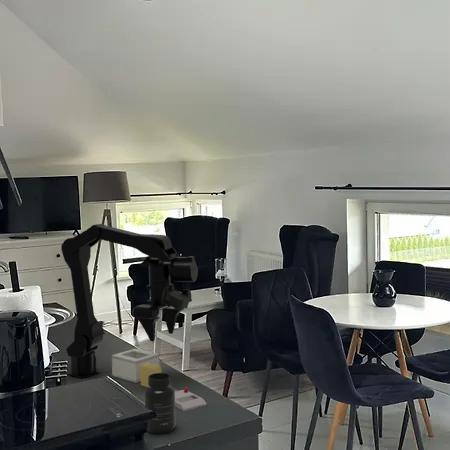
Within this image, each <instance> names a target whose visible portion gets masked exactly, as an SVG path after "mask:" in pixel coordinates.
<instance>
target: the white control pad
mask: <svg viewBox="0 0 450 450" xmlns="http://www.w3.org/2000/svg"><path fill="white" fill-rule="evenodd" d="M173 389H174V391H175V408H176V409H179V410H181V411H183V412H188V411H192V410H195V408H196V409H199V408H198V407H200V408H202V406H204V407H207V406H208V404H207V402H206V401H205V399H204V398H203V397H200V396H199V395H196V394H195V393H192V392H191V391H189V390H188V386H187V387H186V386H185V387H184V389H179V390H178V389H176V388H173ZM206 405H207V406H206Z"/></svg>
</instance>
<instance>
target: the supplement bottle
mask: <svg viewBox="0 0 450 450" xmlns="http://www.w3.org/2000/svg"><path fill="white" fill-rule="evenodd" d="M148 385H149V387H146V388H145V391H144V392H143V400H144V402H143V403H144V404H143V405H144V406H145V408H147V409H149V410H152V411H153V412H155V413H156V415H157V416H156V418H154V419H153V420H152V421H151V422H150V423H149V425H148V429H147V430H146V432H148V433H151V434H154V435H155V434H156V435H162V434H163V435H164V434H167V433H170V432H172V431H173V430H174V429H175V428H176V407H175V390H174V389H175V388H173V386H171V376H170V374H168V373H166V372H162V373H155V374H151V375H150V376H149V377H148ZM145 408H144V409H145Z"/></svg>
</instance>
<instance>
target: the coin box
mask: <svg viewBox="0 0 450 450" xmlns="http://www.w3.org/2000/svg"><path fill="white" fill-rule="evenodd" d="M147 363H150V364H154V365H158V366H161V365H160V354H159V353H155V352H151V351H147V350H144V349H140V348H139V349H138V348H133V349H130V350H126V351H122V352H118V353H115V354H112V355H111V368H112V369H111V371H112V372H111V374H112V377H114V378H118V379H122V380H124V381H125V380H126V381H128V382H132V383H134V384H135V383H136V384H137V383H141V367H140V366H141V365H144V364H147Z"/></svg>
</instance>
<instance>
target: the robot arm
mask: <svg viewBox="0 0 450 450" xmlns="http://www.w3.org/2000/svg"><path fill="white" fill-rule="evenodd" d="M100 241H105V242H109V243H113V244H116V245H117V244H118V245H121V246H126V247H129V248H134V249H136V250H138V251H139V252H140V253H141V254H143V255H146V257H145V259H144V260H143V261H142V262H140V264H141V266H148V281H149V284H148V285H146V290H149V299H148V300H146V304H140V305H136V306H135V307H134V308H133V309H132V317H133V318H135V319H136V320H138V322H139V323H140V325H141V326H142V328H143V331H144V332H145V334H146V336H147V337H148V339H149V341H150V342H155V340H156V339H155V338H156V328H157V327H156V325H157V322H158V320H159V319H160V318H161V317H160V316H159V315H160V311H161V310H162V313H163V316H164V321H165V325H166V329H167V332H168V334H170V335H172V334H174V330H175V326H176V323H177V320H178V317H179V314H180V313H181V312H182V311H183V310H185V309H188V307H189V304H190V303H191V302H192V301H193V300H192V296H193V295H192V291H191V290H190V289H189V288H186V289H182V290H181V291H180V290H175V285H174V283H171V279H172V281H173V282H179V283H180V282H186V283H187V282H188V283H189V282H190V283H193V282H196V281H197V280H198V279H197V278H198V275H199V269H198V268H199V267H198V266H197V262H196V260H195V256H193V255H191V256H190V255H189V256H180V255H179V253H178V252H177V251H176V249H175V248H174V247H173V246H172V241H171V239H170V237H169V236H167V235H165V234H155V233H154V234H150V233H149V234H142V233H137V232H133V231H129V230H125V229H121V228H117V227H113V226H110V225H109V226H108V225H106V224H104V223H98V224H97V223H96V224H92V225H91V226H89V227H88V228H86V229H85V230H84V231H82V232H80V233H79V234H76V235H75V236H73V237H68V238H66V239H65V240H63V242H62V243H61V245H60V247H61V250H60V251H61V253H62V257H63V259H64V262H65V263H66V265H67V267H68V268H69V270H70V275H71V282H72V289H73V295H74V296H73V297H74V305H75V311H76V312H75V313H76V323H75V326H74V329H73V330H74V332H73V341H72V342H71V344H69V345H68V347H67V348H66V349H65V350H66V353H67V356H68V357H70V371H68V373H67V375H69V376H72V377H76V378H78V379H83V378H88V377H90V376H93V375H96V374H99V373H100V371H99V370H97V356H96V350H97V349H98V348H99V345H100V344H101V343H102V341H103V339H104V335H105V334H106V333H105V331H104V323H103V320H98V319H97V318H96V316H95V312H94V305H93V298H92V289H91V282H90V276H89V268H88V267H89V263H90V261H91V250H92V249H91V248H92V247H94V246H96V245H97V244H98V243H99V242H100Z"/></svg>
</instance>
